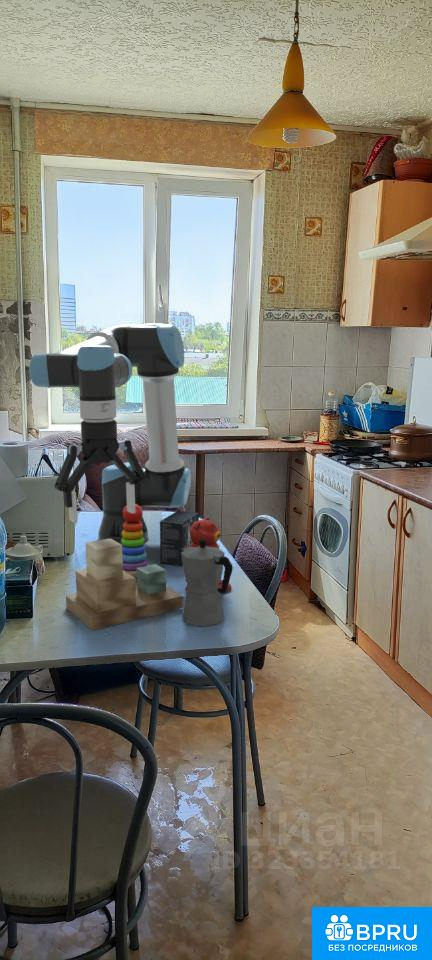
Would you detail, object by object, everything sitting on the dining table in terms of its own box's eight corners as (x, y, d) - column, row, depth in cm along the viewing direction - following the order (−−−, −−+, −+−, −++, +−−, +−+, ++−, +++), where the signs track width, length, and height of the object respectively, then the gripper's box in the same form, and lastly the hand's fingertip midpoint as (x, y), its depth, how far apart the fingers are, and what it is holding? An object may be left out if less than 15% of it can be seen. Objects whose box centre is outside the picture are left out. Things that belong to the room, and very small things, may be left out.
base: (152, 588, 170) (151, 553, 168) (183, 608, 158) (182, 570, 156) (66, 607, 158) (64, 570, 156) (92, 630, 146) (90, 589, 144)
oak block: (111, 568, 158) (110, 538, 156) (123, 575, 153) (121, 544, 151) (86, 572, 155) (85, 542, 153) (97, 580, 150) (96, 549, 148)
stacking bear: (210, 602, 161) (210, 528, 158) (175, 594, 166) (173, 522, 163) (234, 588, 170) (234, 517, 167) (200, 581, 175) (199, 512, 172)
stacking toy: (143, 580, 176) (141, 508, 172) (113, 578, 178) (110, 507, 174) (152, 570, 184) (150, 501, 180) (123, 568, 185) (121, 500, 182)
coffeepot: (167, 615, 154) (165, 537, 150) (199, 604, 160) (198, 529, 156) (215, 637, 142) (214, 552, 139) (247, 624, 149) (247, 543, 145)
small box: (182, 566, 187) (182, 523, 184) (159, 564, 189) (158, 521, 187) (199, 552, 199) (199, 511, 197) (177, 550, 201) (176, 510, 199)
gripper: (47, 426, 137) (53, 529, 142) (159, 417, 150) (161, 511, 155) (35, 422, 143) (41, 521, 148) (143, 413, 157) (146, 505, 161)
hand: (103, 516), depth 151 cm, fingers open, 13 cm apart
